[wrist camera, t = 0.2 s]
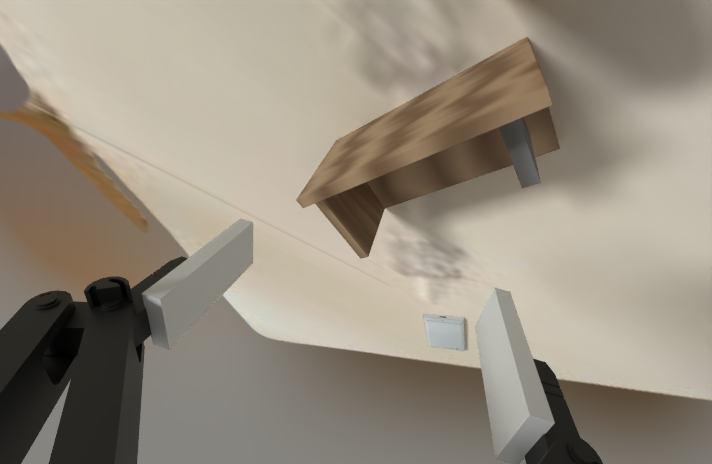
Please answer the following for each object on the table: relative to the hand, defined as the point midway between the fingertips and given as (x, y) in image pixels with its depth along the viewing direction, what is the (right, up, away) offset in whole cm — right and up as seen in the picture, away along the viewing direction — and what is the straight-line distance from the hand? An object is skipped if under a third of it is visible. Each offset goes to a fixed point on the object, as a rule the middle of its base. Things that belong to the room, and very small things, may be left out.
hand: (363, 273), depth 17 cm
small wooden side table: (+10, +14, +22) cm, 28 cm away
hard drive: (+19, -19, +52) cm, 59 cm away
